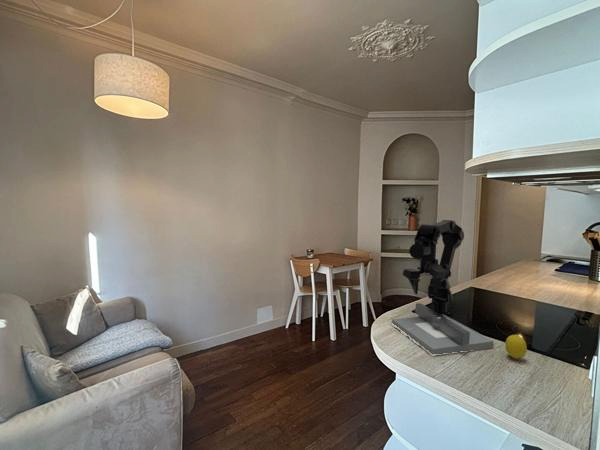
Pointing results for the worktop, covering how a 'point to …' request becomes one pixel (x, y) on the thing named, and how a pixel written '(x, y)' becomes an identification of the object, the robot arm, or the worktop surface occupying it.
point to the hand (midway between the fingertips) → (425, 293)
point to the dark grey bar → (443, 324)
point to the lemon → (516, 346)
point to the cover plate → (440, 336)
